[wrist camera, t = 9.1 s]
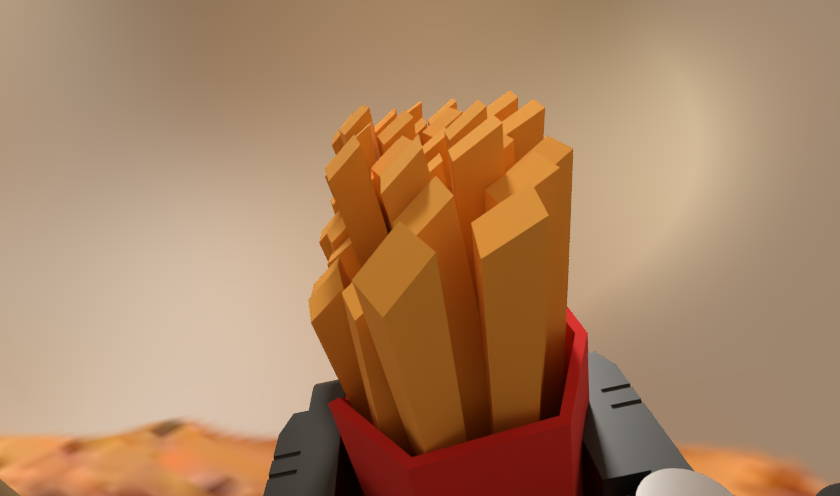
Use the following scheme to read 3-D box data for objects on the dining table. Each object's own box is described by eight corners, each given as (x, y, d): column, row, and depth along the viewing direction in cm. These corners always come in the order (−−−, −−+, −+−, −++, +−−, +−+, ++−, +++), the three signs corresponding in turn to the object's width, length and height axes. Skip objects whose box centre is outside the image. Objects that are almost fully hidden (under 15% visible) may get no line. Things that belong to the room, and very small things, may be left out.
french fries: (402, 470, 17) (292, 111, 12) (514, 438, 18) (454, 74, 12) (462, 864, 9) (184, 245, 4) (674, 791, 9) (699, 117, 4)
